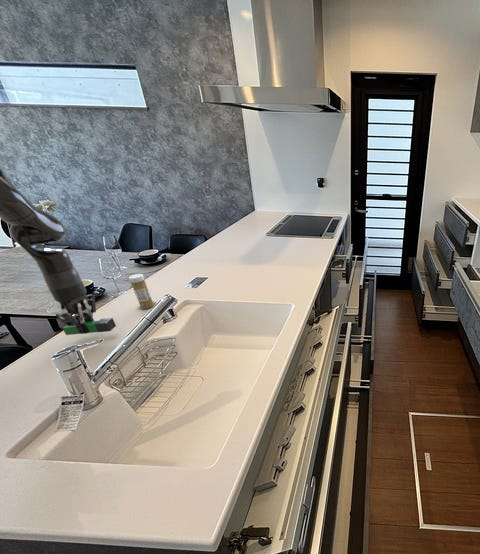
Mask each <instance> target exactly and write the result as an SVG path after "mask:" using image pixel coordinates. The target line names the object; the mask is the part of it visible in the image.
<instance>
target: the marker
mask: <svg viewBox="0 0 480 554" xmlns="http://www.w3.org/2000/svg"><path fill="white" fill-rule="evenodd" d="M84 323H85V324H86V327H87V329H88V331H89V332H88V333H87V334H93V333H106V332H107V333H108V332H111V331H112V330H114V329H115V327H116V326H117V324H116V322H115V320H114V317H107V318H100V319H98V320H94V321H89V322H84ZM62 331H63V333H64V334H65V336H71V335H72V336H73V335H82V334H81V333H79V332H78V330H77V328H76V326H67V325H66V324H65V325H64V326H63V327H62Z"/></svg>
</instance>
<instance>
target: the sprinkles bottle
mask: <svg viewBox="0 0 480 554" xmlns="http://www.w3.org/2000/svg"><path fill="white" fill-rule="evenodd" d="M128 280H129V283H130V284H131V286H132V289H133V292H134V295H135V296H136V299H137V302H138V304H139V306H140V309H143V310H145V309H150V308H152V307H153V306H154V305H155V303H154V301H153V298H152V295H151V293H150V290H149V288H148V286H147V283H146V281H145V276H144V274H142V273H136V274H132V275H129V277H128Z"/></svg>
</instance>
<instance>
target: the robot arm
mask: <svg viewBox="0 0 480 554" xmlns="http://www.w3.org/2000/svg"><path fill="white" fill-rule="evenodd" d="M0 219H1V220H2V221H3V222H5V223H6V224H8V225H9V226H10V227H9V233H10V236H11V237H12V239H13V240H14V242H15V243H17V244H18V245H19V246H20V247H21V248H22V249H23V250H24V251H25V252H26V253H27V254H28V255H29V256H30V257H31V258H32V259H33V261H35V263H36V265H37V266H38V269H39V271H40V273H41V274H42V278H43V281H44V283H45V284H46V286H47V288H48V290H49V291H50V294H51V295H52V297H53V299H54V301H55V302H57V303H59V304H60V309H61V311H60V313H56V314H55V318H56V319H57V320H59V321H60V322H62V323H63V324H65V326H66V325H67V326H76V328H77V330H78V332H79V333H81V334H80V335H86V334H87V335H88V334H89V333H88V332H89V331H88V329H87V327H86V324H85V323H84V322H89V321H95V319H94V313H96V312H97V307H96V306H97V305H96V296H95V294H87V293H88V292H87V288H86V286H85V284H84V282H83V279H82V278H81V276H80V274H79V272H78V270H77V269H76V268H75V266H74V263H73V262H72V260H71V257H70V256H69V254H68V252H67V250H64V249H62V248H49V247H46V246H44V245H43V244H51V243H59V242H60V241H63V240H64V239H65V238H66V235H67V231H66V227H65V226H64V224H63V223H62V222H61V221H60V220H59V219H58V218H57V217H55V216H53V215H51V214H50V213H48V212H46V211H45V210H42V209H40V208H39V207H36V206H35V205H34V204H33V203H32V202H31V201H30V200H29V199H28V198H27V197H26V196H25V195H23V193H21V192H20V191H19V190H18V189H17V188H16V187H14V186H13V185H12V184H11V183H10V182H8V180H6V179H5V178H3V177H2V176H1V175H0Z"/></svg>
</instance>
